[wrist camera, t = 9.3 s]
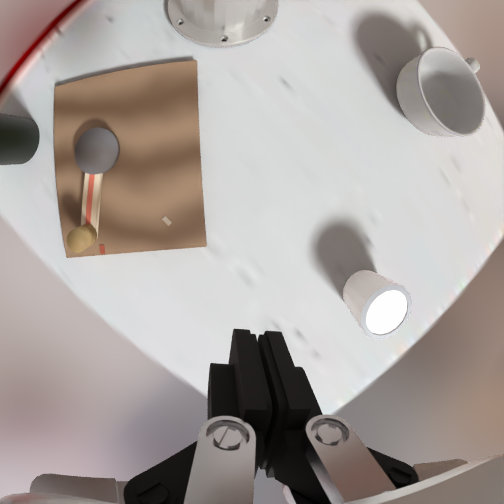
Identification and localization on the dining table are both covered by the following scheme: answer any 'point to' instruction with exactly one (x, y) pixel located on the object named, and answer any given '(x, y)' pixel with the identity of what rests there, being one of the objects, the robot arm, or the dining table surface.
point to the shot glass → (377, 303)
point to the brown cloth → (135, 158)
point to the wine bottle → (17, 139)
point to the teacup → (442, 93)
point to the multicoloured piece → (92, 182)
